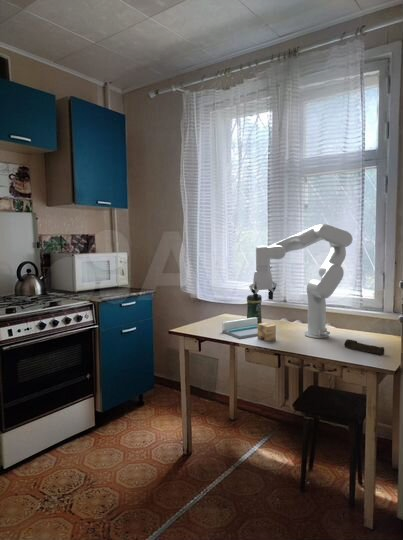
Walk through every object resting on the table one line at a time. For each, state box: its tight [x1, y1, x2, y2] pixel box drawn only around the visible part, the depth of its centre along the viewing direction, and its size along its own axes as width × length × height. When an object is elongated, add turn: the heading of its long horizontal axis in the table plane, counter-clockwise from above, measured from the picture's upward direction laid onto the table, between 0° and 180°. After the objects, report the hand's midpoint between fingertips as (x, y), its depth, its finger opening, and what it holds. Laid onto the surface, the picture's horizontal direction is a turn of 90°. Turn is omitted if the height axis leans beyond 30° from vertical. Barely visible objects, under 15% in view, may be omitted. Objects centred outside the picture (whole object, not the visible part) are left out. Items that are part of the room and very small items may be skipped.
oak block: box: [257, 322, 277, 342], centre depth 210 cm, size 8×6×8 cm
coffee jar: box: [246, 294, 263, 325], centre depth 249 cm, size 10×8×19 cm
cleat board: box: [221, 317, 258, 340], centre depth 225 cm, size 18×24×6 cm
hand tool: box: [343, 338, 386, 357], centre depth 186 cm, size 19×4×5 cm, turn 41°
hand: (263, 300), depth 211 cm, fingers open, 9 cm apart
